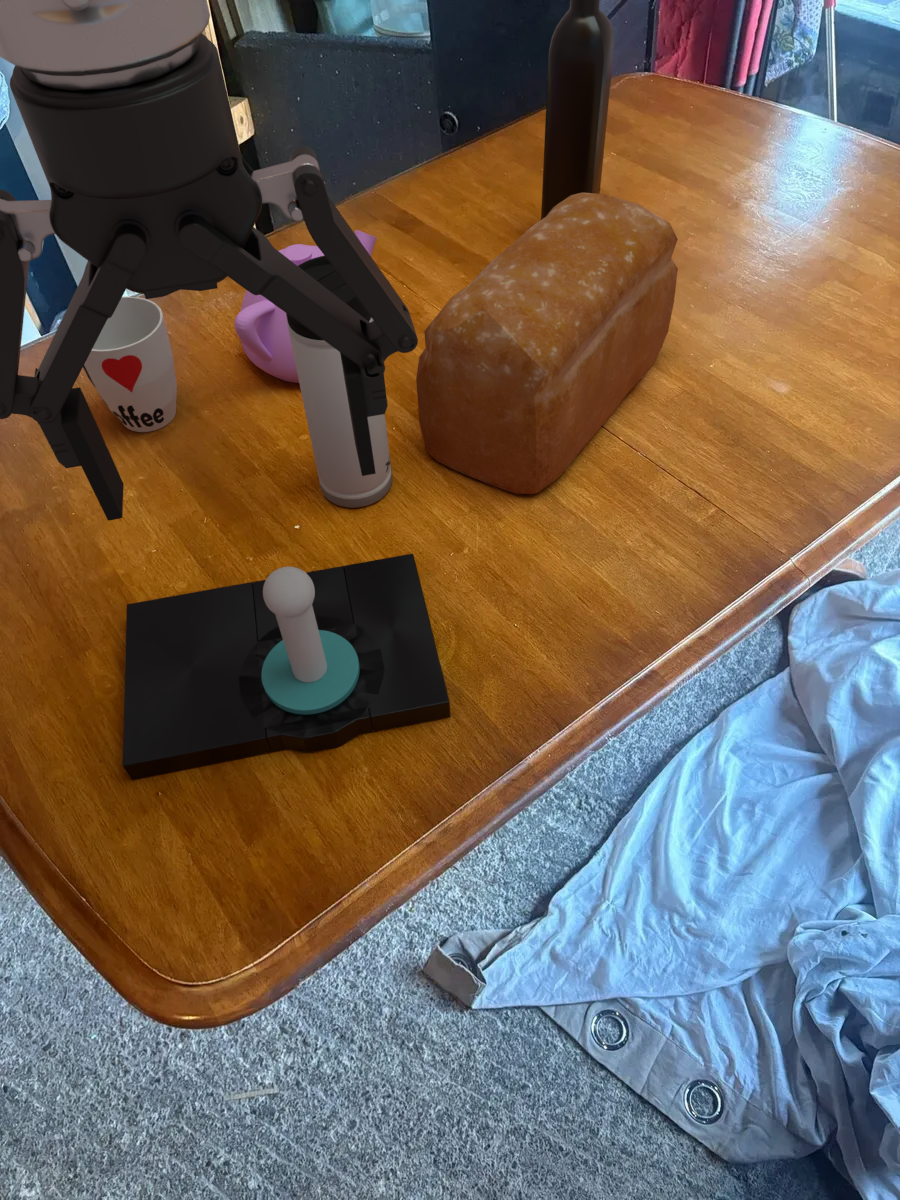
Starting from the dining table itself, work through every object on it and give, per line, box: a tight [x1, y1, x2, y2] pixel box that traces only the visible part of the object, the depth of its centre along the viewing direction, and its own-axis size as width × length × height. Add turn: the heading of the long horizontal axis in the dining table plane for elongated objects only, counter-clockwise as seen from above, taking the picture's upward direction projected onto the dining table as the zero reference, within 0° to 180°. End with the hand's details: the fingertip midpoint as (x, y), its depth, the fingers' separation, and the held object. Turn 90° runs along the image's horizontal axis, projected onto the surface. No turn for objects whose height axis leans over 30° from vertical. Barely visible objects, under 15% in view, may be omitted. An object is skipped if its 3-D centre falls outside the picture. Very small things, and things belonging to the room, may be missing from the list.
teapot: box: [234, 229, 378, 384], centre depth 86 cm, size 14×20×11 cm
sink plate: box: [121, 553, 451, 781], centre depth 64 cm, size 22×15×2 cm, turn 102°
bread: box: [415, 193, 679, 495], centre depth 78 cm, size 14×26×16 cm, turn 147°
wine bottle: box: [540, 0, 615, 220], centre depth 90 cm, size 6×6×30 cm
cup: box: [82, 296, 178, 433], centre depth 80 cm, size 8×8×10 cm
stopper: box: [262, 566, 360, 715], centre depth 59 cm, size 7×7×13 cm
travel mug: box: [286, 256, 393, 509], centre depth 70 cm, size 6×7×20 cm
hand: (242, 480), depth 49 cm, fingers open, 13 cm apart
